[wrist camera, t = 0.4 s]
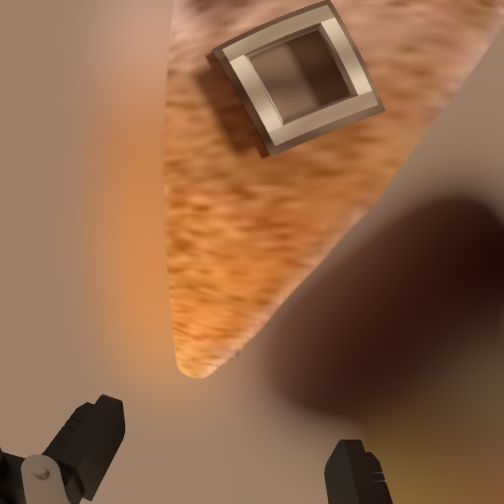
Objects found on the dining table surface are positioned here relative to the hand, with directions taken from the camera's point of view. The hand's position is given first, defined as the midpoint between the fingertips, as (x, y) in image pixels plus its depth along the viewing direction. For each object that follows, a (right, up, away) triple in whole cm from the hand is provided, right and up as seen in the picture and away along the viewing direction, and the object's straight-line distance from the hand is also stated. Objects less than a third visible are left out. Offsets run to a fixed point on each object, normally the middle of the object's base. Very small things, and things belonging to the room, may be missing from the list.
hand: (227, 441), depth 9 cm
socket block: (+6, +26, +19) cm, 33 cm away
